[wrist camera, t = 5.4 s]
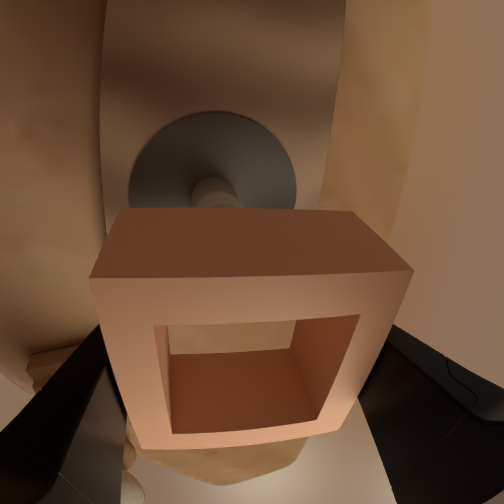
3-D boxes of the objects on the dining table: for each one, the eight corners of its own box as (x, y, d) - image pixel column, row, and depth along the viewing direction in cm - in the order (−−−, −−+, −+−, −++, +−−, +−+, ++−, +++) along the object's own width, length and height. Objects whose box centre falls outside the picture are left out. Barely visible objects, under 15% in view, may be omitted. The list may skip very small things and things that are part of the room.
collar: (120, 208, 7) (88, 278, 5) (352, 211, 8) (414, 269, 6) (144, 373, 10) (141, 449, 8) (310, 364, 11) (338, 429, 9)
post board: (134, -93, 8) (112, -166, 2) (339, -73, 11) (413, -121, 4) (118, 277, 20) (96, 371, 13) (296, 274, 22) (339, 359, 16)
